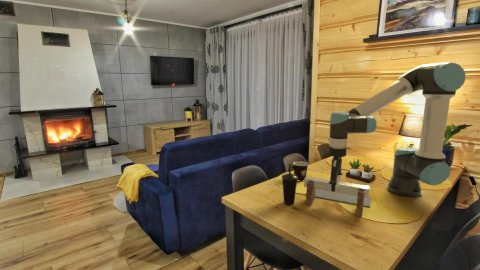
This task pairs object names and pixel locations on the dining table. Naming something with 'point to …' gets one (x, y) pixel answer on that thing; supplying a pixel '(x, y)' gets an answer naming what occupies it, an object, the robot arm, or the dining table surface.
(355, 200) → the grey flat panel
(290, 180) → the drinking cup
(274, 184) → the dining table surface
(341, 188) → the alu bar
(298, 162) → the coffee mug
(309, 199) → the walnut cradles
